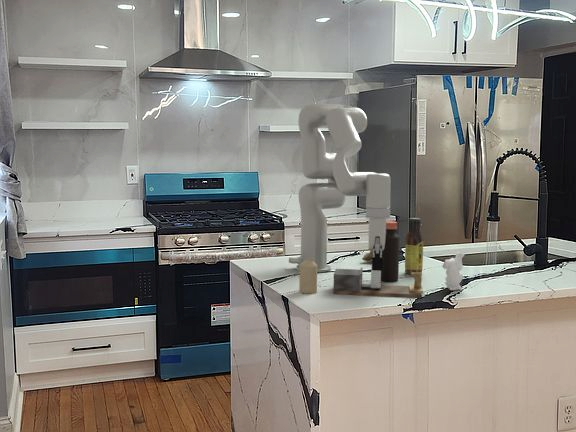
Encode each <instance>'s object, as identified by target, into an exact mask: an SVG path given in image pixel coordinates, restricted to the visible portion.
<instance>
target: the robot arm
mask: <svg viewBox="0 0 576 432" xmlns="http://www.w3.org/2000/svg"><path fill="white" fill-rule="evenodd" d="M367 126H368V118H367V115H366V113H365V112H364V111H363V109H361V108H359V107H355V106H352V105H351V106H350V105H347V104H339V103H324V102H323V103H319V102H315V103H308V104H305V105H304V106H303V107H302V108H301V110H300V111H299V114H298V128H299V133H300V138H301V154H302V155H301V156H302V157H301V159H302V160H301V161H302V162H301V163H302V164H301V165H302V166H301V167H302V174H303V177H305V178H306V179H309V180H327V181H328V182H311V183H305V184H304V185H302V186H301V187H300V189H299V190H298V203H299V210H300V256H297V257H288V263H289V264H297V265H296V267H295V268H296V270H297V271H299V272H300V264H301V263H303V262H304V261H305V260H310V261H314V262H315V263H316V264H317V273H326V272H330V271H331V270H332V268H331V265H329V264H327V261H328V260H327V259H328V258H327V257H328V253H327V251H328V220H327V218H326V216H325V214H324V213H323V211H322V210H329V209H331V210H332V209H339V208H342V206H343V205H344V204H345V201H346V197H358V196H363V197H364V196H365V219H368V244H367V245H368V246H367V247H368V251H371V249H372V248H373V257H372V260H371V265H372V270H375V271H382V270H383V253H382V251H383V250H384V247H385V239H386V221H387V220H389V219H391V183H392V182H391V180H392V179H391V176H390V174H388V173H382V172H381V173H377V172H373V171H355V172H354V171H353V172H350V171H349V168H348V166H347V163H346V159H349V158H351V157H352V156H354V155H356V154H357V153H358V152H359V151H360V150H361V149H362V140H361V139H360V136H359V133H363V132H364V131H366V129H367ZM321 129H328V132H329V135H330V137H331V139H332V143H333V144H334V148H335V150H336V152H327V150H326V149H327V148H326V147H327V145H326V144H327V143H326V139H325V136H324V134H323V132H322V131H321Z"/></svg>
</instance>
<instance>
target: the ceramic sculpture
mask: <svg viewBox="0 0 576 432" xmlns="http://www.w3.org/2000/svg"><path fill="white" fill-rule="evenodd" d="M372 257H373V248H372V249H371V250H369V252H367V253H365V254H364V255H363V257H362V258H361V259H362V261H365V262H372Z"/></svg>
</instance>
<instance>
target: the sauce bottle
mask: <svg viewBox="0 0 576 432" xmlns="http://www.w3.org/2000/svg"><path fill="white" fill-rule="evenodd" d="M408 223H409V231H408V233H407V234H406V236H405V247H404V248H405V249H404V251H405V252H404V253H405V254H404V272H405V274H407V275H411V274H412V272H414V273H416V272H419V273H422V274H423V261H424V260H423V259H424V239H423V235H422V233H421V232H422V231H421V223H422V219H421V218H418V217H410V218H409V219H408Z"/></svg>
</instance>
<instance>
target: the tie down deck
mask: <svg viewBox="0 0 576 432" xmlns="http://www.w3.org/2000/svg"><path fill="white" fill-rule="evenodd" d="M363 270H364V269H363V267H360V268H359V269H354V268H353V269H351V268H335V270H334V272H333V287H332V288H333V290H332V295H346V296H347V295H350V296H368V297H369V296H370V297H371V296H372V297H391V298H392V297H395V298H396V297H397V298H413V299H414V298H417V299H418V298H419V299H420V298H422V295H423V294H424V289H423V285H422V279H423V278H422V276H423V272H422V273H419V272H416V273H414V272H412V274H410V275H411V277H414V281H413V282H414V283H413V284H409V285H390V284H389V285H388V284H381V288H380V289H369V288H361V286H362V284H363ZM422 299H423V298H422Z"/></svg>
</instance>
